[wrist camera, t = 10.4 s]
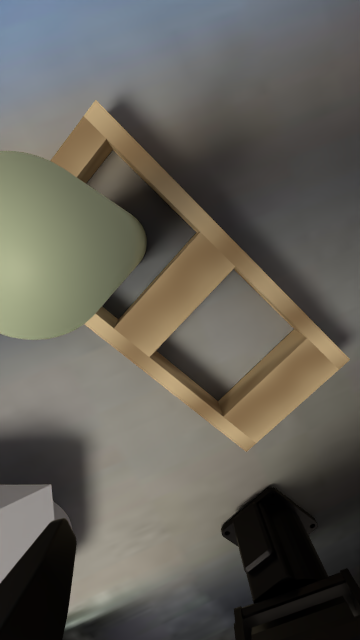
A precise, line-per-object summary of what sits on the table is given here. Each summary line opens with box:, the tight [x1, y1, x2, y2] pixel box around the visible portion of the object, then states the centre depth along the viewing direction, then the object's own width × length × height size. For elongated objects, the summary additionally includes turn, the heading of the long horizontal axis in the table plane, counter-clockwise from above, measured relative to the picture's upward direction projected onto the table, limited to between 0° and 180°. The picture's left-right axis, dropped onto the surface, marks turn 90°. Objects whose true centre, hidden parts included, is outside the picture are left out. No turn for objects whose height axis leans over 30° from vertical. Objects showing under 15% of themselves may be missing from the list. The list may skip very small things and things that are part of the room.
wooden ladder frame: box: [51, 100, 350, 452], centre depth 19 cm, size 22×10×2 cm, turn 47°
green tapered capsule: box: [0, 151, 147, 340], centre depth 12 cm, size 4×4×13 cm
